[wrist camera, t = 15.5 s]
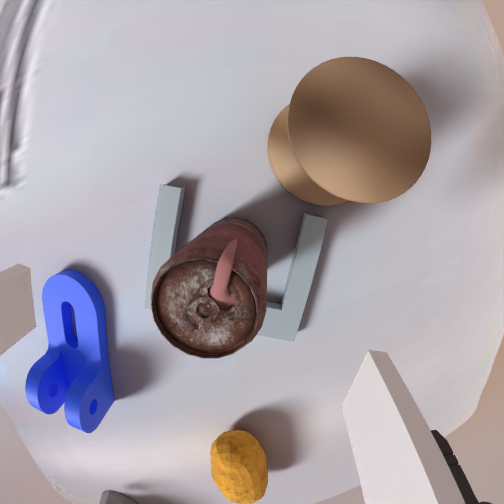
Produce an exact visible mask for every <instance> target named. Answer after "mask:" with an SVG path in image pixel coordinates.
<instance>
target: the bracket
mask: <svg viewBox="0 0 504 504" xmlns="http://www.w3.org/2000/svg"><path fill="white" fill-rule="evenodd" d="M42 301H43V309H44V316H45V323H46V329H47V335H48V341H49V347H48V350H47V352H46V354H45V355H44V356H43V357H41V358H40V359H39V360H38V361H37V362H36V363H35V364H34V365H33V366H32V367H31V369H30V371H29V373H28V376H27V379H26V386H25V390H26V396H27V399H28V401H29V403H30V404H31V405H32V406H33V407H35V408H36V409H38V410H40V411H42V412H44V413H46V414H53V413H55V412H56V411H57V410H58V409H59V408H60V407H61V406H62V405H63V403H64V402H65V405H64V411H65V417H66V420H67V422H68V423H69V425H71V426H73V427H75V428H77V429H79V430H82V431H84V432H86V433H91V432H93V431H94V430H95V429H96V428H97V427H98V425H99V424H100V422H101V421H102V419H103V418H104V416H105V414H106V413H107V411H108V410H109V408H110V407H111V405H112V404H113V402H114V394H113V388H112V381H111V374H110V365H109V357H108V347H107V335H106V322H105V308H104V303H103V300H102V297H101V295H100V293H99V291H98V289H97V288H96V286H95V285H94V284H93V282H92V281H91V280H90V279H89V278H88V277H86V276H85V275H83V274H82V273H80V272H78V271H75V270H64V271H62V272H60V273H58V274H56V275H54V276H52V277H50V278H49V279H48V280H47V281H46V283H45V285H44V288H43V293H42ZM70 304H71V305H72V306H73V308H74V312H75V321H76V330H77V338H78V339H77V338H76V337H75V336H74V334H73V328H72V319H71V310H70Z"/></svg>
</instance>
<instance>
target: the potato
mask: <svg viewBox="0 0 504 504" xmlns="http://www.w3.org/2000/svg"><path fill="white" fill-rule="evenodd" d="M211 465H212V469H211V472H212V476H213V479H214V482H215V484H216V486H217V487H218V488H219V489H220V491H221V492H222V494H223V495H224V496H225V497H226V498H227V499H228V500H230V501H231V502H235V503H239V504H252V503H254V502H256V501H258V500H260V499H261V498H262V497H263V496H264V494H265V491H266V487H267V484H268V472H267V462H266V455H265V452H264V450H263V448H262V446H261V445H260V443H259V442H258V441H257V439H256V438H255V437H254V436H253V435H251V434H250V433H249V432H248V431H243V430H234V431H228V432H224V433H223V434H221V435H220V436H219V437H218V438H217V439H216V440H215V441H214V443H213V444H212V448H211Z"/></svg>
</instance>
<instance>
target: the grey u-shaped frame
mask: <svg viewBox="0 0 504 504" xmlns="http://www.w3.org/2000/svg"><path fill="white" fill-rule="evenodd" d="M185 189H186V188H182V187H177V186H171V185H160V189H159V195H158V201H157V207H156V213H155V220H154V227H153V234H152V242H151V250H150V259H149V268H148V277H147V288H146V300H145V307H146V308H149V309H152V308H151V293H152V285H153V280H154V278H155V277H156V275H157V273H158V271H159V269H160V267H161V266H162V265H163V264H164V263H165V262H166V261H167V260H168V259H169V258H171V257H172V256H173V255H174V254H175V249H176V242H177V236H178V229H179V223H180V217H181V211H182V206H183V200H184V194H185ZM327 223H328V219H326V218H324V217H319V216H315V215H311V214H307V213H304V215H303V219H302V223H301V227H300V232H299V236H298V240H297V244H296V248H295V252H294V256H293V260H292V264H291V268H290V272H289V276H288V280H287V284H286V288H285V291H284V295H283V299H282V303H281V304H278V303H273V302H269V301H267V305H266V314H265V318H264V321H263V325H262V328H261V329H260V331H259V332H258V333H257V335H262V336H267V337H272V338H278V339H283V340H289V341H295V337H296V334H297V331H298V328H299V324H300V321H301V318H302V315H303V311H304V308H305V304H306V301H307V298H308V294H309V291H310V287H311V284H312V280H313V276H314V273H315V269H316V265H317V262H318V258H319V254H320V250H321V247H322V243H323V239H324V235H325V231H326V227H327Z"/></svg>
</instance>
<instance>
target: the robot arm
mask: <svg viewBox="0 0 504 504" xmlns="http://www.w3.org/2000/svg"><path fill="white" fill-rule="evenodd" d="M35 327H36V322H35V314H34V306H33V297H32V286H31V272H30V268H29V267H26V266H23V265H21V264H17V265H15V266H13V267H11V268H8V269H6V270H4V271H2V272H0V355H2V354H3V353H4V352H5V351H6V350H8V349H9V348H10V347H11V346H13V345H14V344H15V343H16V342H17V341H19V340H20V339H21V338H23V337H24V336H25V335H26V334H28V333H29V332H30V331H31V330H33V329H34V328H35ZM341 408H342V412H343V415H344V419H345V423H346V427H347V431H348V434H349V438H350V442H351V446H352V450H353V454H354V458H355V462H356V466H357V470H358V475H359V479H360V483H361V487H362V492H363V496H364V500H365V504H491V503H489V502H480V503H479V502H478V500H477V499H476V497H475V495H474V493H473V491H472V489H471V487H470V484H469V482H468V480H467V478H466V476H465V474H464V472H463V470H462V468H461V467H460V465H458V460H457V459H456V457H455V455H453V451H452V449H451V447H450V445H449V443H448V442H447V440H446V439H445V438H444V437H443V436H442V435H441V434H440V433H439V432H438V431H437V430H432V431H430V429H429V427H428V425H427V423H426V421H425V419H424V418H423V416H422V414H421V412H420V410H419V408H418V407H417V405H416V403H415V401H414V399H413V397H412V396H411V394H410V392H409V390H408V389H407V387H406V385H405V383H404V382H403V380H402V378H401V376H400V375H399V373H398V371H397V369H396V368H395V366H394V364H393V363H392V361H391V359H390V357H389V356H388V354H387V352H380V351H371V350H368V352H367V354H366V356H365V358H364V361H363V363H362V365H361V367H360V369H359V371H358V374H357V376H356V378H355V380H354V382H353V384H352V386H351V388H350V390H349V392H348V394H347V396H346V398H345V400H344V402H343V404H342V405H341Z"/></svg>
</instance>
